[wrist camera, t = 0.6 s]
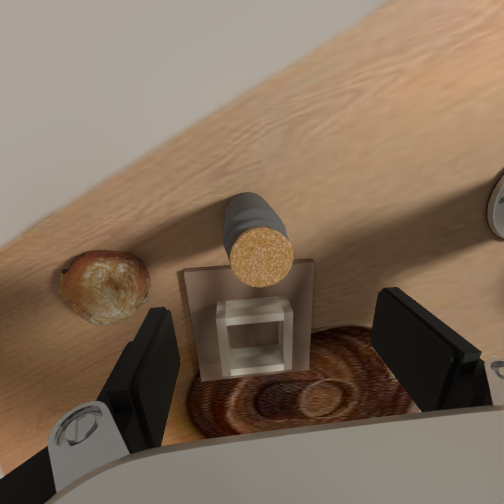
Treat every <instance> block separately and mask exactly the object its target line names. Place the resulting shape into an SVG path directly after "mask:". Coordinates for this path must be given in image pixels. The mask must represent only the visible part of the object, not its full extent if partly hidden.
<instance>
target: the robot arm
mask: <svg viewBox="0 0 504 504" xmlns="http://www.w3.org/2000/svg"><path fill="white" fill-rule="evenodd" d="M487 218H488V222H489V226H490V228H491V229H492V231H493V232H494V233H495V234H496V235H497V236H499V237H501V238H504V175H503V176H502V178H501V179H500V181H499V182H498V183H497V185H496V187H495V189H494V190H493V192H492V195H491V198H490V200H489V204H488V210H487ZM370 341H371V345H372V347H373V348H374V349H375V351H376V352H377V353H378V355H379V356H380V357H381V359H382V360H383V361H384V363H385V364H386V365H387V367H388V368H389V369H390V371H391V372H392V373H393V374H394V376H395V377H396V378H397V380H398V381H399V382H400V384H401V385H402V386H403V388H404V389H405V390H406V392H407V393H408V394H409V396H410V397H411V398H412V400H413V401H414V402H415V403H416V405H417V406H418V407H419V409H420V410H421V411H422V412H421V413H413V414H404V415H395V416H387V417H378V418H370V419H362V420H354V421H345V422H337V423H329V424H321V425H313V426H305V427H297V428H289V429H281V430H274V431H266V432H258V433H250V434H243V435H235V436H227V437H220V438H213V439H206V440H199V441H193V442H186V443H179V444H172V445H167V446H162V447H161V443H162V439H163V435H164V430H165V426H166V422H167V418H168V413H169V409H170V405H171V401H172V396H173V392H174V388H175V384H176V380H177V375H178V371H179V367H180V356H179V351H178V346H177V341H176V336H175V331H174V326H173V321H172V316H171V312H170V310H166V308H165V307H157V308H150V310H149V312H148V314H147V316H146V317H145V319H144V321H143V323H142V325H141V327H140V329H139V331H138V333H137V335H136V337H135V339H134V340H133V341H131V342H129V343H128V344H127V345H126V347H125V348H124V350H123V352H122V354H121V356H120V358H119V359H118V361H117V363H116V365H115V367H114V369H113V370H112V372H111V374H110V376H109V378H108V380H107V381H106V383H105V385H104V387H103V389H102V391H101V392H100V394H99V396H98V398H97V400H96V401H90V402H87V403H83V404H81V405H79V406H77V407H75V408H73V409H72V410H71V411H69V412H68V413H66V414H65V415H64V416H63V417H62V418H61V419H60V420H59V421H58V422H57V423H56V425H55V426H54V427H53V429H52V430H51V433H50V435H49V437H48V446H47V447H45V448H44V449H43V450H41V451H40V452H38V453H37V454H35V455H34V456H33V457H31V458H30V459H28V460H27V461H26V462H24V463H23V464H21V465H20V466H18V467H17V468H16V469H14V470H13V471H11V472H10V473H9V474H7V475H6V476H4V477H3V478H1V479H0V504H504V358H496V357H492V358H488V359H487V360H485V362H484V361H483V360H482V359H480V355H481V353H482V352H481V351H480V350H478V349H477V348H476V347H475V346H473V345H472V344H471V343H469V342H468V341H467V340H465V339H464V338H463V337H462V336H460V335H459V334H458V333H456V332H455V331H454V330H452V329H451V328H450V327H449V326H447V325H446V324H445V323H443V322H442V321H441V320H439V319H438V318H437V317H436V316H434V315H433V314H432V313H430V312H429V311H428V310H426V309H425V308H424V307H423V306H421V305H420V304H419V303H417V302H416V301H415V300H413V299H412V298H411V297H410V296H408V295H407V294H406V293H404V292H403V291H402V290H400V289H399V288H397V287H391V288H383V289H382V290H381V292H379V293H378V297H377V302H376V308H375V314H374V320H373V326H372V331H371V337H370Z"/></svg>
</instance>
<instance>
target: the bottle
mask: <svg viewBox="0 0 504 504" xmlns="http://www.w3.org/2000/svg"><path fill="white" fill-rule="evenodd" d="M223 243H224V247H225V250H226V252H227V255H228V259H229V261H230V267H231V269H232V272H233V274H234V275H235V276H236V277H237V278H238V280H240V281H241V282H242V283H244V284H246V285H249V286H252V287H267V286H271V285H274V284H275V283H277V282H279V281H280V280H282V279H283V278H284V277H285V276H286V275H287V273H288V272H289V270H290V268H291V265H292V262H293V251H292V247H291V245H290V243H289V239H288V236H287V233H286V229H285V226H284V224H283V222H282V221H281V219H280V218H279V217H278V215H277V214H276V213H275V212H274V210H273V209H272V208H271V207H270V206H269V205H268V203H267V202H266V201H265V200H264V199H263V198H262V197H261V196H259V195H257V194H255V193H250V192H245V193H240V194H238V195H236V196H234V197H233V198H232V199H231V200H230V201H229V203H228V204H227V207H226V210H225V217H224V232H223Z"/></svg>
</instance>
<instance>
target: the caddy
mask: <svg viewBox="0 0 504 504" xmlns="http://www.w3.org/2000/svg"><path fill="white" fill-rule="evenodd" d="M314 271H315V262H314V260H313V259H303V260H293V262H292V265H291V268H290V270H289V272H288V273H287V275H286V276H285V277H284V278H283V279H282V280H280V281H279V282H277V283H275V284H274V285H271V286H267V287H252V286H249V285H246V284H244V283H242V282H241V281H240V280H238V278H237V277H236V276H235V275H234V274H233V272H232V269H231V267H230V265H225V266H212V267H199V268H186V269H185V270H184V278H185V284H186V290H187V296H188V302H189V308H190V314H191V320H192V326H193V332H194V338H195V344H196V350H197V356H198V363H199V369H200V375H201V381H211V380H220V379H230V378H239V377H248V376H257V375H267V374H276V373H285V372H294V371H303V370H309V358H310V340H311V323H312V305H313V288H314Z"/></svg>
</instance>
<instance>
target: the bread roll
mask: <svg viewBox="0 0 504 504" xmlns="http://www.w3.org/2000/svg"><path fill="white" fill-rule="evenodd" d="M149 287H150V276H149V273H148V271H147V269H146V268H145V266H144V265H143V264H142V263H141V262H140V261H139V260H138V259H136V258H135V257H134V256H132V255H130V254H128V253H124V252H116V251H108V250H97V251H89V252H87V253H85V254H84V255H80V256H77V257H76V258H75V259H74V260H73V261H72V262H71V264H70V266H69V268H68V269H63V270H62V271H61V277H60V289H59V293H60V294H61V295H62V297H63V298H64V299H65V300H67V301H68V302H69V304H70V306H71V307H72V308H73V309H74V310H75V311H76V312H77V313H78V314H79V315H80V316H81V317H82V318H84V319H85V320H87V321H88V322H90V323H92V324H95V325H101V326H108V325H111V324H115V323H118V322H121V321H123V320H124V319H126V318H129V317H130V316H132V314H133V312H135V311H136V310H137V308H138V306H139V305H140V304H143V303H144V302H145V301H146V300H147V298H148V296H147V293H148V291H149Z"/></svg>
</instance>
